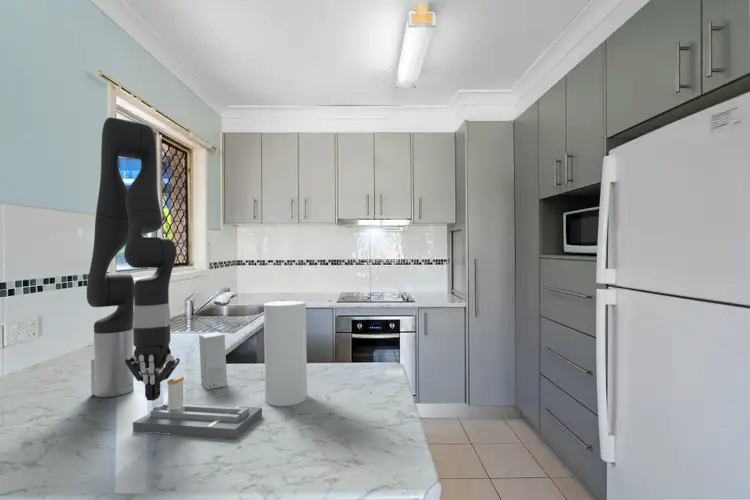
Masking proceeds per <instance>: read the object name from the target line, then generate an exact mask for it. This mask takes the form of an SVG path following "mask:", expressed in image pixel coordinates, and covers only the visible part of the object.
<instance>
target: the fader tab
mask: <svg viewBox="0 0 750 500" xmlns="http://www.w3.org/2000/svg"><path fill="white" fill-rule="evenodd" d="M184 380H185V379H184V376H176V377H173V378H171V379H169V380H167V385H168V386H167V387H168V389H167V390H168V392H167V395H168V397H167V398H168V399H167V401H168V402H167V403H168V408H167V410H170V411H185V405H183V403H184Z"/></svg>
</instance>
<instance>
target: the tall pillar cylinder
mask: <svg viewBox="0 0 750 500" xmlns="http://www.w3.org/2000/svg"><path fill="white" fill-rule="evenodd" d="M306 303H307V302H306V301H304V300H303V301H302V300H279V301H269V302H265V303H264V304H263V325H264V327H263V328H264V330H263V333H264V334H263V335H264V338H263V339H264V399H265V403H266V404H267V405H270V406H273V407H288V406H289V407H290V406H294V405H298V404H301V403H303V402H305V401H306V400H307V399H308V377H307V376H308V374H307V373H308V371H307V369H308V368H307V367H308V366H307V365H308V364H307V304H306Z"/></svg>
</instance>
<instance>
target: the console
mask: <svg viewBox="0 0 750 500" xmlns="http://www.w3.org/2000/svg"><path fill="white" fill-rule="evenodd" d="M183 405H185V411H170V410H167V408H168V402H166V403H160V404H158V405H157V406H154V407H152V410H151V411H149V413H148V414H146V415H144V416H142V417H140V418H138V419H136V420H134V421H132V432H133V433H134V432H136V433H146V432H159V433H158V434H160V433H170V434H169V435H174V434H182V435H181V436H187V435H192V436H191V437H201V436H202V438H204V437H205V438H216V439H218V438H219V439H231V440H237V438H238V437H240V436H241V435H242V434H243V433H244V432H246V431H247V430H248V429H249V428H250V427H251V426H253V425H254V424H255V423H256V422H257V421H258V420H259V419H261V418H262V417H263V407H260V406H259V407H257V406H238V405H224V404H223V405H222V404H221V405H219V404H201V403H187V402H183Z"/></svg>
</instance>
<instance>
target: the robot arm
mask: <svg viewBox="0 0 750 500" xmlns="http://www.w3.org/2000/svg"><path fill="white" fill-rule="evenodd" d="M156 142H157V141H156V135H155V132H154V129H153V128H152V126H150V125H149V124H147V123H144V122H139V121H134V120H133V121H132V120H128V119H123V118H119V117H118V118H117V117H114V116H113V117H112V116H111V117H107V118H106V119H105V121H104V123H103V127H102V132H101V148H100V149H101V152H100V153H101V155H100V157H101V159H100V163H101V164H100V177H99V178H100V180H99V181H100V182H99V188H98V189H99V190H98V198H97V202H96V203H97V204H96V211H95V212H96V213H95V222H94V238H93V239H94V240H93V250H92V257H91V262H90V268H89V273H88V279H87V283H86V285H87V286H86V299H87V300H86V301H87V304H89V306H90V307H91V308H105V307H106V308H107V307H117V308H116V310H115V311H114V312H112V313H111V314H109V315H108V316H105V317H103V318H100V319H98V320H97V321H95V322H94V324H93V350H94V351H93V353H94V355H93V358H92V359H91V361H90V374H91V375H90V377H91V378H90V379H91V381H90V383H91V384H90V386H91V391H90V393H91V395H93V396H94V397H96V398H112V397H118V396H123V395H126V394H128V393H130V392H133V391H134V389H135V387H134V378H135V379H136V381H138V382H140V381H141V382H142V383H143V384H144V397H145V398H146V401H152V402H153V401H156V400H157V399H159V397H160V396H161V383H162V382H163V381H165V380H167V379H169V378H170V376H171V375H172V373H174V371H175V369H176V368H177V366H178V365H179V363H180V362H181V360H180V358H178V357H176V358H175V357H174V356H173V355H171V353H172V351H171V349H170V344H171V343H170V342H171V310H170V309H171V308H170V303H169V299H170V298H169V297H170V295H169V291H170V290H169V288H170V282H171V277H172V272H173V268H174V266H175V262H176V258H177V254H178V252H177V246H176V244H175V242H174V241H173V240H172V239H171V238H169V237H161V236H158V237H155V236H154V237H153V236H152V237H151V236H145V237H144V236H143V235H145V234H151V233H155V232H157V231H159V230H160V229H161V228H162V226H163V218H162V217H163V215H162V213H161V207H160V206H161V205H160V202H159V201H160V200H159V196H158V180H157V179H158V176H157V175H158V173H157V171H158V169H157V165H158V164H157V162H158V161H157V143H156ZM119 158H126V159H127V158H128V159H135V160H140V170H139V172H138V173H137V176H135V178H134V180H133V181H132V183H131V184H130V186H129V187H127V185H126V184H125V182H124V179H123V177H122V175H121V172H120V168H119ZM123 248H124V253H123V254H124V255H123V256H124V260H125V262H126V263H127V264H128V265H129V266H130V267H131V268H134V269H148V268H149V269H150V268H151V269H153V268H154V269H155V268H156V270H155V272H154V274H153V275H151V276H149V277H145V278H144V277H143V278H141V279H138V280H136V281H134V277H133V275H132V274H131V273H130V272H107V271H108V269H109V267H110V266H111V265H110V264H111V263H112V261H113V259H114V258H115V257H116V255H118V254H119V252H121V250H122V249H123ZM134 347H135V349H134Z"/></svg>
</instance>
